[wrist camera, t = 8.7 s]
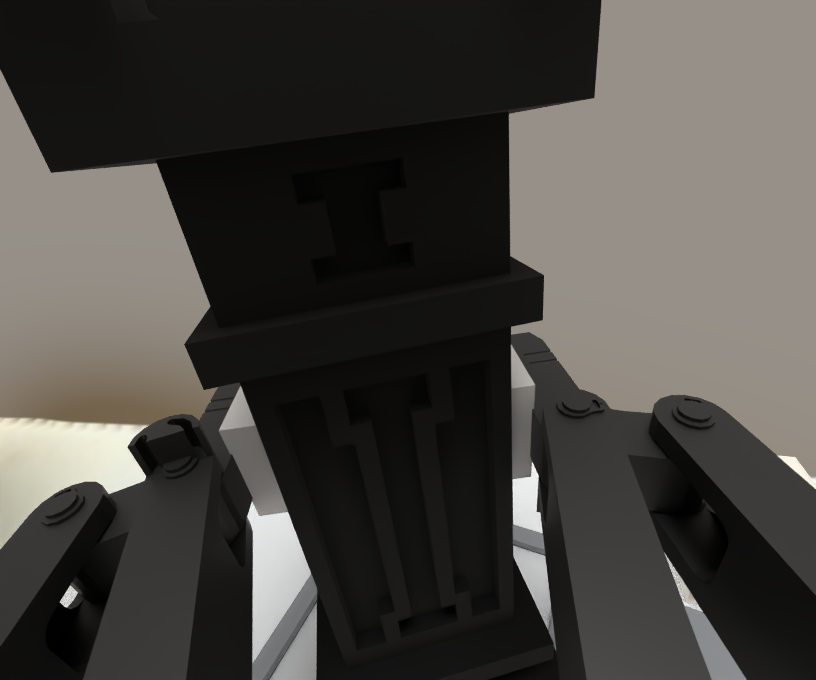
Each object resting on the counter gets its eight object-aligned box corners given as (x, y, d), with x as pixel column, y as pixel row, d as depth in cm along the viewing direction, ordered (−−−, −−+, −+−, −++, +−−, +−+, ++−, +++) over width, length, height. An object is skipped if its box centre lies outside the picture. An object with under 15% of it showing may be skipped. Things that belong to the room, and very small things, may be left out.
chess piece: (321, 563, 18) (126, 11, 9) (488, 519, 19) (461, -21, 10) (322, 827, 11) (-533, -457, 2) (587, 736, 12) (790, -416, 3)
